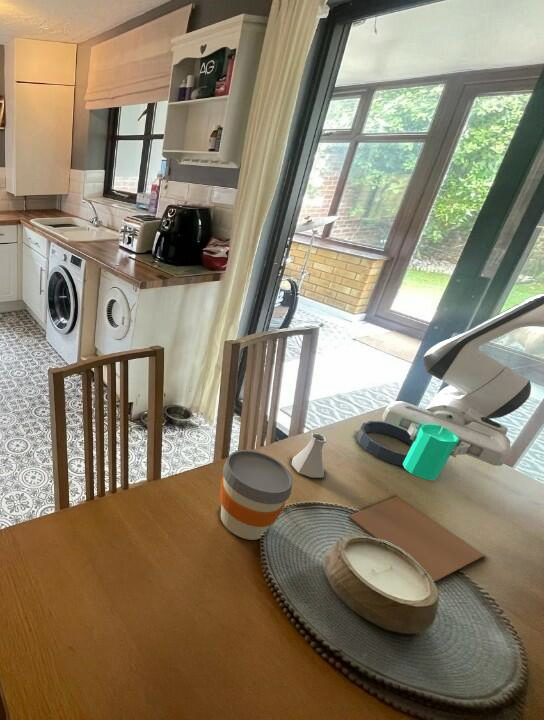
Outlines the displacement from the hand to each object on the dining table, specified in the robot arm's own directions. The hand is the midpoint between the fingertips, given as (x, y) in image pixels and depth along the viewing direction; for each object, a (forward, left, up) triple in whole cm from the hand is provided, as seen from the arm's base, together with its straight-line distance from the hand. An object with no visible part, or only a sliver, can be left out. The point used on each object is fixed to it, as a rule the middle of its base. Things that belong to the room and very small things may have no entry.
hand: (433, 445), depth 87 cm
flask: (+15, +11, -17) cm, 25 cm away
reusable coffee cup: (+8, +39, -17) cm, 43 cm away
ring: (+13, -17, -17) cm, 27 cm away
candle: (0, -1, -8) cm, 8 cm away
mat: (-7, +8, -17) cm, 20 cm away
